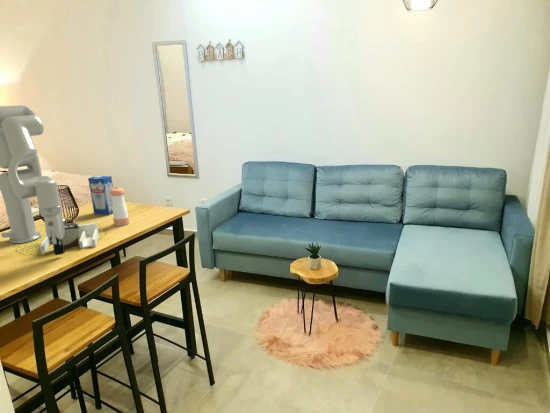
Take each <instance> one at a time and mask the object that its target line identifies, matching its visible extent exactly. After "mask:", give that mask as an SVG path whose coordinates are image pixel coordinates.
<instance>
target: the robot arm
mask: <svg viewBox="0 0 550 413" xmlns="http://www.w3.org/2000/svg"><path fill="white" fill-rule="evenodd" d="M44 130H45V127H44V123H43V121H42V119H41V118H40V117H39V115H37V113H36V112H34V111H33V110H32V109H31V108H30V107H28V106H26V105H6V106H5V105H3V106H2V105H1V106H0V169H5V170H7V171H5V172H3V173H0V193H1V197H2V200H3V202H4V206H5V211H6V216H7V218H8V219H7V220H8V223H9V224H8V225H9V227H10V231H7V232H6V231H4V232H1V233H0V235H1V238H3V239H4V238H9V239H8V241H9V242H10V244H23V243H24V244H25V243H29V242H32V241H36V240H38V239H39V238H41V234H42V233H41V232H39V231H37V229H36V225H35V220H34V215H33V211H32V205H31V202H30V199H32V198H37V200H36V201H37V204H38V209H39V214H40V216H41V217H42V218H44V226H45V230H46V231H45V233H46V232H47V236H48V240H49V241H51V240H52V242H51V243H52V247H53V252H54V255H55V256H58V255H64V253H65V250H64V248H63V243H62V238H63V237H64V234H65V228H64V224H65V223H64V220H63V217H62V214H63V209H62V205H61V200H60V196H59V195H60V194H59V188H58V184H57V181H56V180H55V179H54V178H51V177H50V176H49V175H43V173H42V168H41V163H40V158H39V154H38V150H37V147H36V145H35V143H34V140H33V139H32V137H36V136H41V135H43V134H44V132H45V131H44ZM22 167H27V168H23V169H18V168H22ZM61 243H62V244H61Z"/></svg>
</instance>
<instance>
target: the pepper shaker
mask: <svg viewBox="0 0 550 413" xmlns="http://www.w3.org/2000/svg"><path fill="white" fill-rule="evenodd" d="M125 191H126V190H125V189H124V188H122V187H119V186H115V187H113V189H111V190H110V195H111V196H112V201H113V214H112V215H113V217H112V218H113V225H114V226H115V227H123V226H128V225H129V224H130V216H129V215H128V214H129V213H128V209H127V205H126V203H125V195H124V194H125Z"/></svg>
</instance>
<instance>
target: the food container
mask: <svg viewBox="0 0 550 413" xmlns="http://www.w3.org/2000/svg"><path fill="white" fill-rule="evenodd" d="M63 224H64V228H65V234H64V237H63V238H62V243H63V248H64V251H67V250H72V249H75V247H76V248H79V247H80V242H79V241H80V238H79V235H78V228H79V226H78V225H79V224H78V223H76V222H75V223H74V222H69V223H66V222H64V223H63ZM62 243H61V244H62ZM78 246H79V247H78Z"/></svg>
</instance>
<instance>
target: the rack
mask: <svg viewBox="0 0 550 413" xmlns="http://www.w3.org/2000/svg"><path fill="white" fill-rule="evenodd" d="M97 223H98V222H95V223H87V224H86V223H85V224H78V226H79V228H78V235H79V247H80V249H81V250H83V249H90V248H91V249H92V248H96V247H97V245H98V244H97V242H98V240H99V230H98V224H97ZM51 243H52V240H51V241H49V240H48V236H47V232H46V229H45V237H44V238H43V240H42V242H41V244H40V246H39V249H40V255H45V254H46V252H47V249H48V248H49V246H50V244H51Z"/></svg>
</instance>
